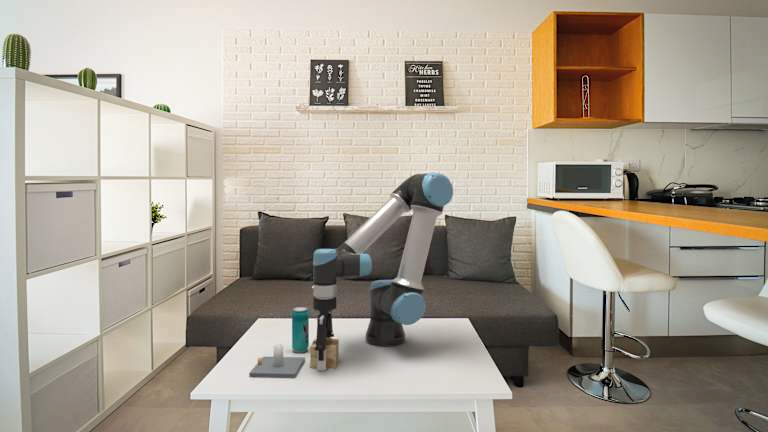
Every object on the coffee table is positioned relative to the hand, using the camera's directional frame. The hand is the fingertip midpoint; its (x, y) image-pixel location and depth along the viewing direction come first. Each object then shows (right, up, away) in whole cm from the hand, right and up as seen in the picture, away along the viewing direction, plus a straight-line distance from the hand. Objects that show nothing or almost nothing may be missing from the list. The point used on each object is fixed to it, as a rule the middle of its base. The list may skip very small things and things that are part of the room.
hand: (324, 363), depth 148 cm
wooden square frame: (0, 0, 0) cm, 0 cm away
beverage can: (-10, 0, +12) cm, 16 cm away
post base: (-14, 0, -4) cm, 15 cm away
